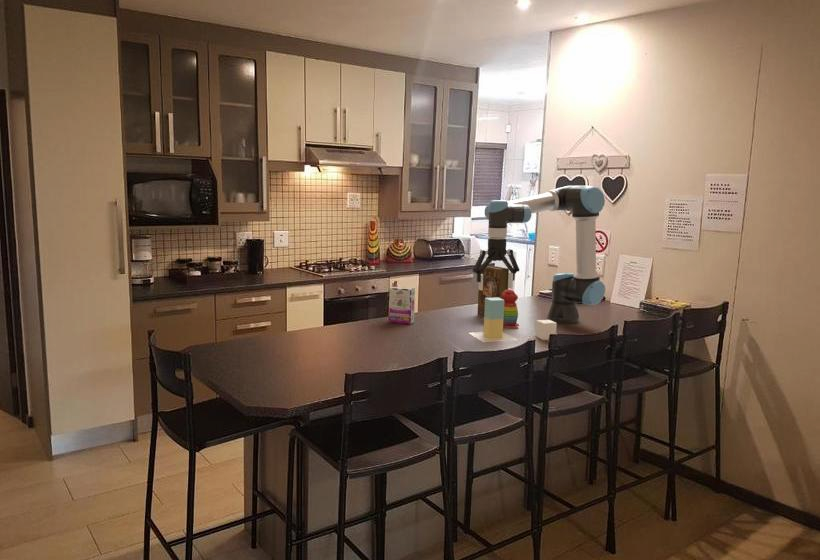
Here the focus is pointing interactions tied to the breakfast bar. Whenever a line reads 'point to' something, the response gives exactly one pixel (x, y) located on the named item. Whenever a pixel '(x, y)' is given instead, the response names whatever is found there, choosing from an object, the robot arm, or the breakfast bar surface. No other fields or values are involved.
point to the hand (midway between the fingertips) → (495, 289)
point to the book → (492, 285)
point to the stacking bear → (510, 309)
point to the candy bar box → (401, 305)
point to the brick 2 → (545, 329)
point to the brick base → (493, 328)
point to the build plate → (485, 339)
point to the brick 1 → (494, 308)
